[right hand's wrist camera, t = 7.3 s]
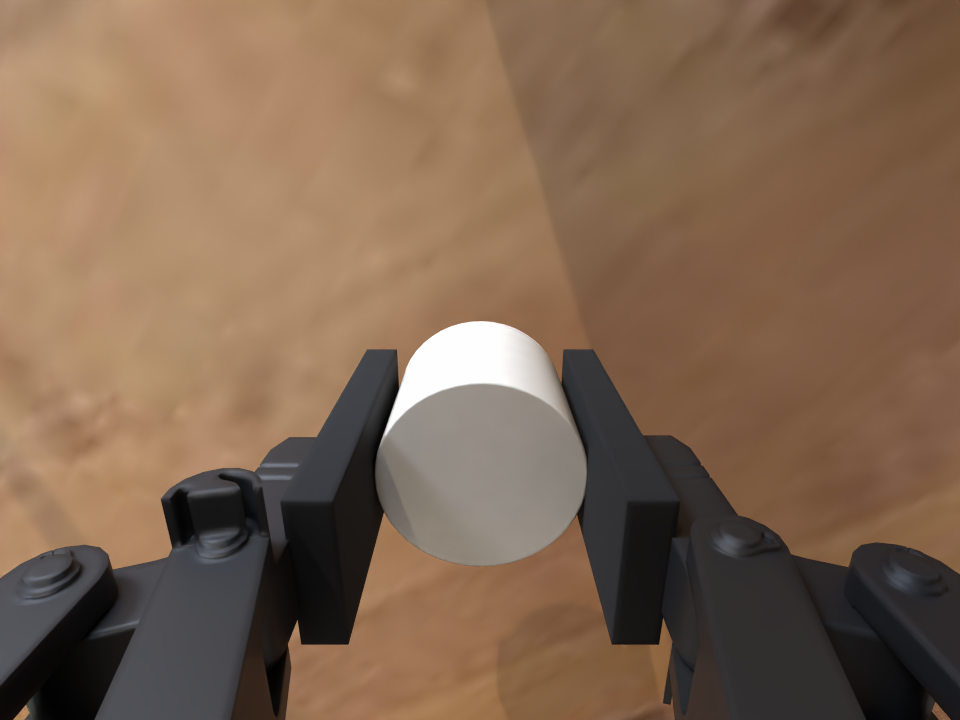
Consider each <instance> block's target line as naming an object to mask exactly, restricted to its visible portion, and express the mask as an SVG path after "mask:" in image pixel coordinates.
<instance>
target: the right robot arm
mask: <svg viewBox="0 0 960 720" xmlns="http://www.w3.org/2000/svg"><path fill="white" fill-rule="evenodd" d="M562 388H563V390H564V393H565V396H566V399H567V402H568V404H569V407H570V410H571V413H572V415H573V418H574V421H575V424H576V427H577V429H578V432H579V435H580V438H581V440H582V443H583V446H584V450H585V453H586V457H587V480H586V492H585V496H584V499H583V502H582V505H581V507H580V509H579V511H578V513H577V516H578V520H579V523H580V527H581V531H582V534H583V538H584V542H585V546H586V549H587V553H588V557H589V561H590V564H591V568H592V572H593V576H594V579H595V583H596V587H597V590H598V594H599V598H600V602H601V605H602V609H603V613H604V617H605V620H606V624H607V628H608V632H609V635H610V639H611V643H612V644H613V645H659V641H660V634H661V628H662V621H663V618H664V621H665V623H666V626H667V628H668V631H669V633H670V636H671V638H672V641H673V642H672V649H671V655H670V661H669V667H668V673H667V680H666V686H665V692H664V700H663V703H664V704H669V705H671V699H672V698H673V707H674V716H675V720H938V718H937V717H936V716H935V715H934V714H933V712H932V709H933V706H934V704H935V702H936V703H937V704H938V705H939V706H940V707H941V709H942V710H943V711H944V712H945V713H946V714H947V716H948V717H949V718H950V719H951V720H960V574H958V573H957V572H955V571H954V570H952V569H951V568H949V567H948V566H946V565H945V564H944V563H942V562H941V561H939V560H936V559H934V558H932V557H930V556H928V555H926V554H924V553H922V552H920V551H918V550H915V549H912V548H906V547H905V546H900V545H895V544H886V543H871V544H865V545H861V546H860V547H858V548H857V549H856V550H855V551H854V552H853V554H852V558H851V561H850V565H849V567H844V566H839V565H835V564H830V563H825V562H820V561H815V560H811V559H806V558H802V557H799V556H795V555H791V553H790V551H789V549H788V547H787V546H786V544H785V543H784V542H783V540H782V539H781V538H780V536H779V535H777V534H776V533H775V532H773V531H772V530H770V529H769V528H768V527H766V526H765V525H763V524H760V523H758V522H756V521H754V520H751V519H749V518H746V517H742V516H738V515H737V513H736V512H735V510H734V509H733V508H732V506H731V505H730V503H729V502H728V501H727V499H726V498H725V496H724V495H723V493H722V492H721V491H720V489H719V488H718V486H717V485H716V484H715V482H714V481H713V479H712V478H709V474H708V472H707V471H706V470H705V468H704V467H703V466H701V463H700V461H699V460H698V458H697V457H696V456H695V454H694V453H693V451H692V450H691V449H690V448H689V447H688V446H686V445H685V444H683V443H682V442H680V441H679V440H677V439H676V438H674V437H673V436H643V435H642V434H641V432H640V430H639V428H638V427H637V425H636V423H635V421H634V420H633V418H632V416H631V414H630V413H629V411H628V409H627V407H626V406H625V404H624V402H623V400H622V399H621V397H620V395H619V394H618V392H617V390H616V388H615V387H614V385H613V383H612V381H611V380H610V378H609V376H608V374H607V373H606V371H605V369H604V367H603V366H602V364H601V362H600V361H599V359H598V357H597V355H596V354H595V352H594V350H563V368H562ZM398 391H399V380H398V362H397V350H367V351H366V352H365V354H364V356H363V358H362V359H361V361H360V363H359V365H358V366H357V368H356V370H355V372H354V373H353V375H352V377H351V379H350V380H349V382H348V384H347V385H346V387H345V389H344V391H343V392H342V394H341V396H340V398H339V399H338V401H337V403H336V405H335V406H334V408H333V410H332V412H331V413H330V415H329V417H328V419H327V420H326V422H325V424H324V425H323V427H322V429H321V431H320V432H319V434H318V436H317V437H289V438H288V439H286V440H285V441H283V442H282V443H280V444H279V445H277V446H276V447H274V448H273V449H271V450H270V451H269V453H268V454H267V456H266V457H265V458H264V460H263V461H262V463H261V464H260V468H257V470H256V471H255V473H254V472H253V471H249V470H245V469H241V468H222V469H217V470H212V471H207V472H202V473H200V474H197V475H194V476H192V477H189V478H187V479H184V480H183V481H181V482H180V483H178V484H176V485H175V486H173V487H171V488H170V489H169V490H168V491H167V492H166V494H165V495H164V496H163V497H162V498H161V502H162V506H163V511H164V515H165V519H166V523H167V527H168V531H169V536H170V540H171V544H172V550H171V552H170V554H169V557H167V558H163V559H160V560H156V561H152V562H147V563H142V564H137V565H133V566H128V567H123V568H118V569H114V570H112V566H111V563H110V559H109V556H108V554H107V553H106V552H105V551H103V550H102V549H101V548H100V547H94V546H88V545H80V546H70V547H64V548H59V549H55V550H53V551H52V550H51V551H48V552H45V553H42V554H40V555H39V556H37V557H35V558H32V559H30V560H28V561H26V562H24V563H22V564H20V565H19V566H17V567H16V568H14V569H13V570H11V571H10V572H9V573H7V574H6V575H4V576H3V577H2V578H0V720H13V719H14V718H15V717H16V716H17V714H18V713H19V712H20V711H21V710H22V709H23V707H24V706H25V705H27V707H28V710H29V712H30V714H29V715H28V716H27V717H26V719H25V720H285V717H286V708H287V700H288V691H289V683H290V674H291V662H290V655H289V649H288V642H289V640H290V637H291V635H292V632H293V630H294V627H295V624H296V622H297V619H298V625H299V632H300V638H301V645H340V644H349V640H350V637H351V633H352V629H353V625H354V622H355V618H356V614H357V611H358V607H359V603H360V599H361V596H362V592H363V588H364V584H365V581H366V577H367V573H368V569H369V566H370V562H371V558H372V554H373V551H374V547H375V543H376V540H377V536H378V532H379V528H380V525H381V521H382V517H383V513H384V510H383V508H382V506H381V504H380V501H379V498H378V494H377V491H376V485H375V461H376V456H377V452H378V449H379V446H380V443H381V440H382V437H383V434H384V431H385V428H386V426H387V423H388V420H389V417H390V414H391V411H392V408H393V405H394V402H395V400H396V397H397V394H398Z"/></svg>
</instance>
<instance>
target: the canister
mask: <svg viewBox="0 0 960 720" xmlns="http://www.w3.org/2000/svg"><path fill="white" fill-rule="evenodd" d="M586 480H587V457H586V453H585V450H584V446H583V443H582V440H581V438H580V435H579V432H578V429H577V427H576V424H575V421H574V418H573V415H572V413H571V410H570V407H569V404H568V402H567V399H566V396H565V393H564V390H563V388H562V385H561V382H560V379H559V377H558V374H557V371H556V369H555V367H554V364H553V362H552V361H551V359H550V357H549V356H548V354H547V353H546V352H545V351H544V349H543V348H542V347H541V346H540V345H539V344H538V343H537V342H536V341H535V340H533V339H532V338H531V337H529V336H528V335H526V334H525V333H523V332H521V331H519V330H517V329H515V328H513V327H510V326H507V325H504V324H499V323H495V322H484V321H481V322H468V323H462V324H458V325H455V326H452V327H449V328H447V329H445V330H442V331H440V332H439V333H437V334H436V335H434V336H432V337H431V338H430V339H429V340H427V341H426V342H425V343H424V344H423V345H422V346H421V347H420V348H419V349H418V350H417V351H416V353H415V354H414V356H413V357H412V358H411V360H410V362H409V364H408V366H407V368H406V371H405V374H404V376H403V379H402V382H401V385H400V388H399V391H398V394H397V397H396V400H395V402H394V405H393V408H392V411H391V414H390V417H389V420H388V423H387V426H386V428H385V431H384V434H383V437H382V440H381V443H380V446H379V449H378V452H377V456H376V461H375V485H376V491H377V494H378V498H379V501H380V504H381V506H382V508H383V510H384V513H385V514H386V516H387V517H388V519H389V521H390V522H391V524H392V525H393V526H394V527H395V529H396V530H397V531H398V532H399V533H400V534H401V535H402V536H403V537H404V538H405V539H406V540H407V541H409V542H410V543H411V544H413V545H414V546H415V547H417V548H418V549H420V550H422V551H424V552H425V553H427V554H429V555H431V556H434V557H436V558H439V559H441V560H444V561H448V562H451V563H456V564H461V565H468V566H494V565H502V564H507V563H511V562H515V561H518V560H521V559H524V558H526V557H529V556H531V555H533V554H535V553H537V552H539V551H541V550H542V549H544V548H545V547H547V546H548V545H550V544H551V543H552V542H554V541H555V540H556V539H557V538H558V537H560V536H561V535H562V533H563V532H564V531H565V530H566V529H567V528H568V527H569V526H570V524H571V523H572V521H573V520H574V518H575V517H576V515H577V513H578V511H579V509H580V507H581V505H582V502H583V499H584V496H585V492H586Z"/></svg>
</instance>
